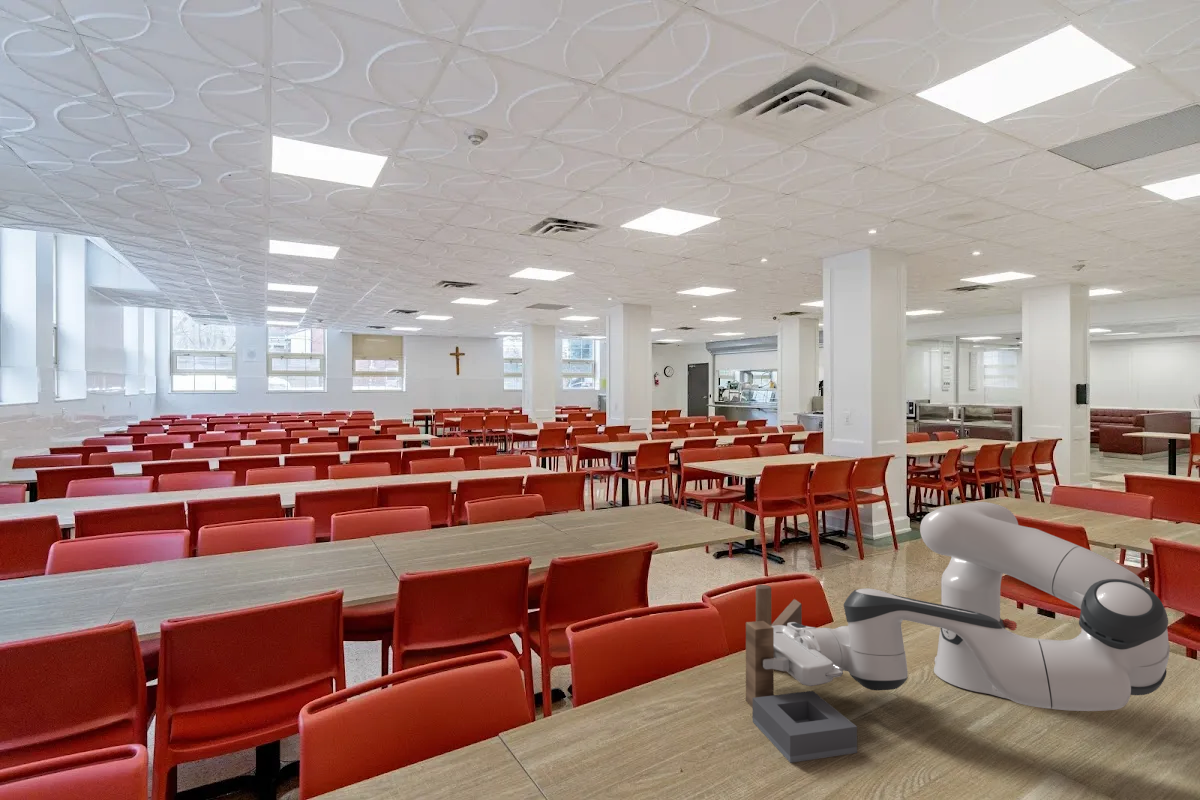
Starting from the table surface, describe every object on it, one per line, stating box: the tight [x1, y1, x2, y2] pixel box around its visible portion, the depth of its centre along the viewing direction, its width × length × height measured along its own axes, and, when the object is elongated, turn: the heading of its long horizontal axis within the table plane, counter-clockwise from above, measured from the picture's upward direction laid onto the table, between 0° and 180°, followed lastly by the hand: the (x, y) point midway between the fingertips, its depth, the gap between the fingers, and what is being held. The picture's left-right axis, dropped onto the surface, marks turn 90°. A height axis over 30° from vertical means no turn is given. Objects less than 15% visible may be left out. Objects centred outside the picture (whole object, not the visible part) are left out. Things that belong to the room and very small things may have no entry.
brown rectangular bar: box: [745, 620, 775, 709], centre depth 114 cm, size 4×4×16 cm
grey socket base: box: [752, 690, 858, 764], centre depth 103 cm, size 13×13×4 cm
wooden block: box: [755, 584, 803, 626], centre depth 134 cm, size 4×11×18 cm, turn 99°
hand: (755, 657), depth 114 cm, fingers closed on brown rectangular bar, 4 cm apart
